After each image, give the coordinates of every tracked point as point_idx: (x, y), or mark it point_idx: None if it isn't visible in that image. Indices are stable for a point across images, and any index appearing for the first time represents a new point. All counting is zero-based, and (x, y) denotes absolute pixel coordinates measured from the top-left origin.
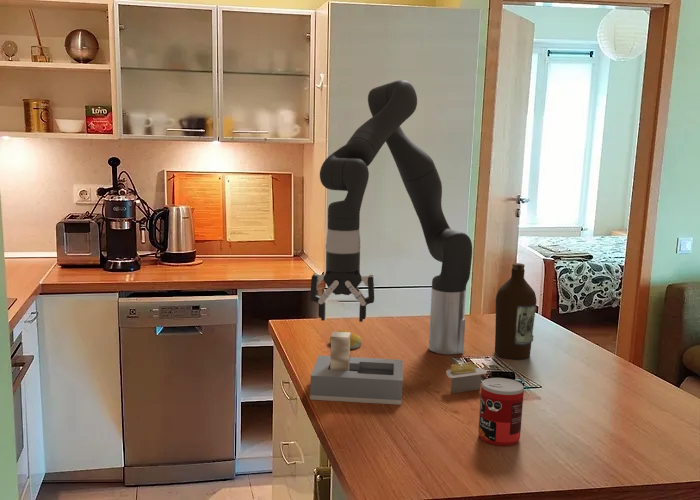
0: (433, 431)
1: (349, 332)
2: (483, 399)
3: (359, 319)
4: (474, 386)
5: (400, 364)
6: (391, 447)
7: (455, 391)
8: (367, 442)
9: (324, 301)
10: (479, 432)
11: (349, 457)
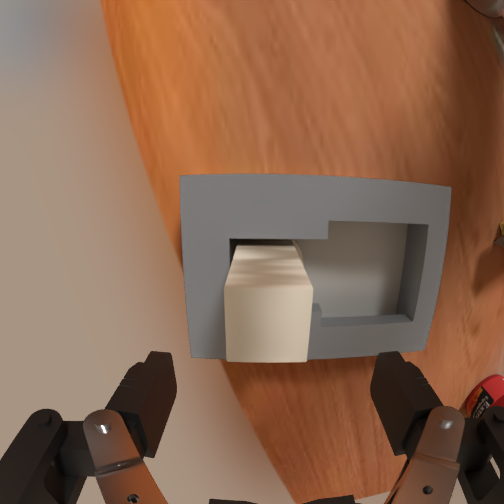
0: None
1: (309, 291)
2: None
3: (373, 400)
4: None
5: (443, 231)
6: (350, 452)
7: (501, 239)
8: (319, 450)
9: (132, 432)
10: (468, 407)
11: (293, 476)
